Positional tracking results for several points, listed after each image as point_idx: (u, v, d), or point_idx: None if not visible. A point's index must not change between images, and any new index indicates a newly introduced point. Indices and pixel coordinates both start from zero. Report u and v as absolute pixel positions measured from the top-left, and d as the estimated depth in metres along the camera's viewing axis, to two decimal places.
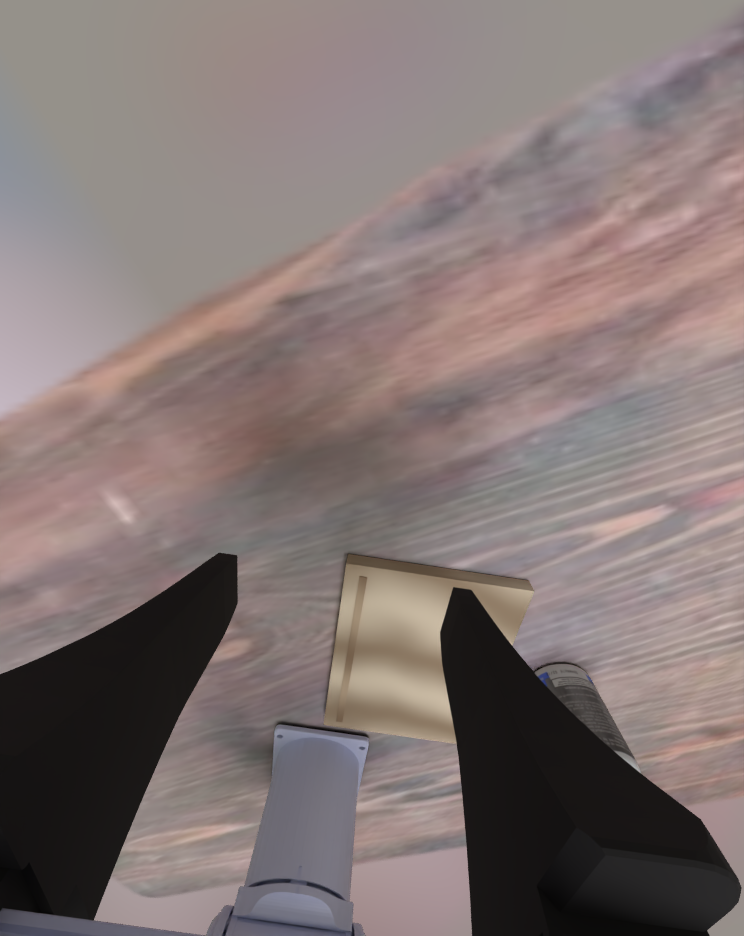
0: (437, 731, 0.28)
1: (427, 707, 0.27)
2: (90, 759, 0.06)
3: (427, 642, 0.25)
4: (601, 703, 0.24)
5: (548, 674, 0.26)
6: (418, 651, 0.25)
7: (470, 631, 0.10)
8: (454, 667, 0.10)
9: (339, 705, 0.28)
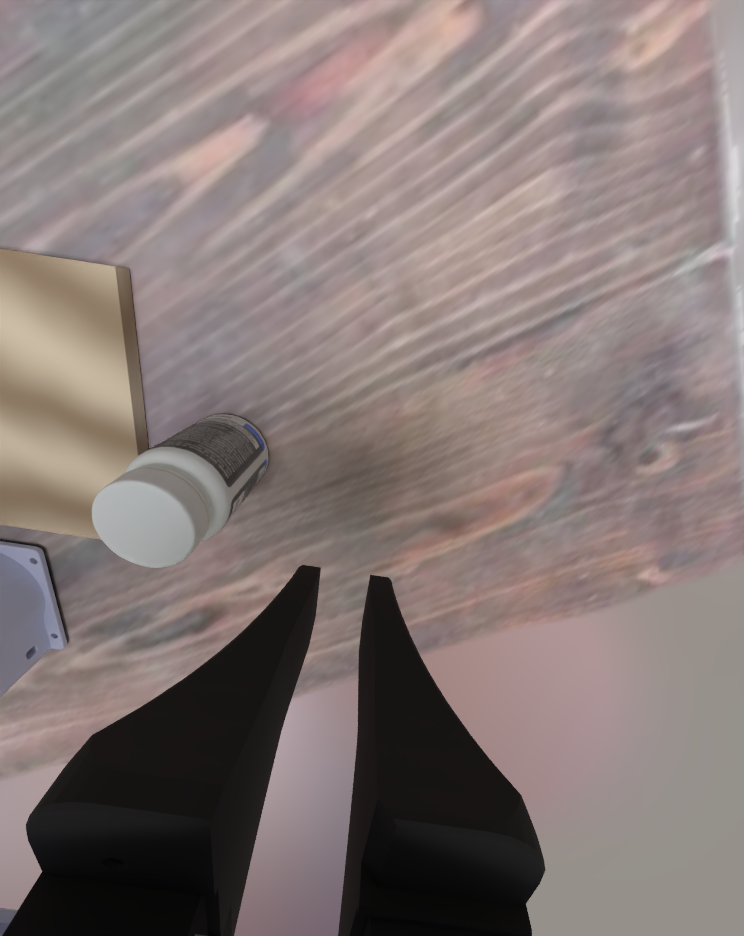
0: None
1: (70, 483, 0.22)
2: (247, 781, 0.06)
3: (22, 369, 0.19)
4: (231, 435, 0.18)
5: None
6: (18, 385, 0.19)
7: (370, 616, 0.10)
8: (362, 654, 0.10)
9: None
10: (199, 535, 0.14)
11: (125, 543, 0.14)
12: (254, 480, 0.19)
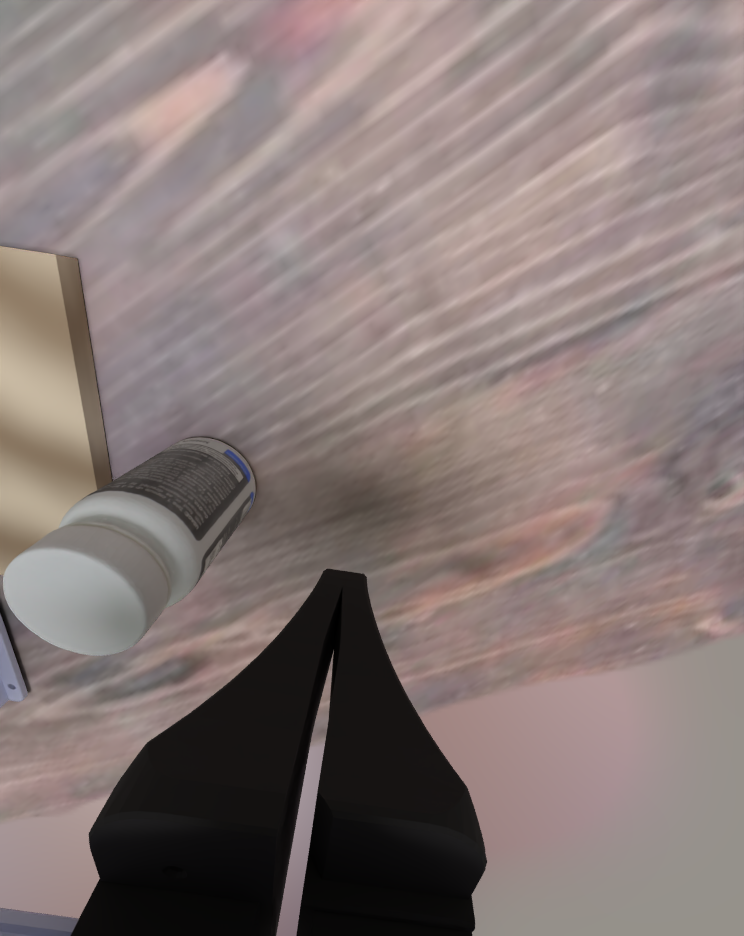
0: None
1: (17, 519, 0.18)
2: (294, 787, 0.06)
3: None
4: (206, 467, 0.14)
5: None
6: None
7: (341, 612, 0.10)
8: (335, 650, 0.10)
9: None
10: (154, 614, 0.11)
11: (52, 626, 0.10)
12: (236, 521, 0.16)
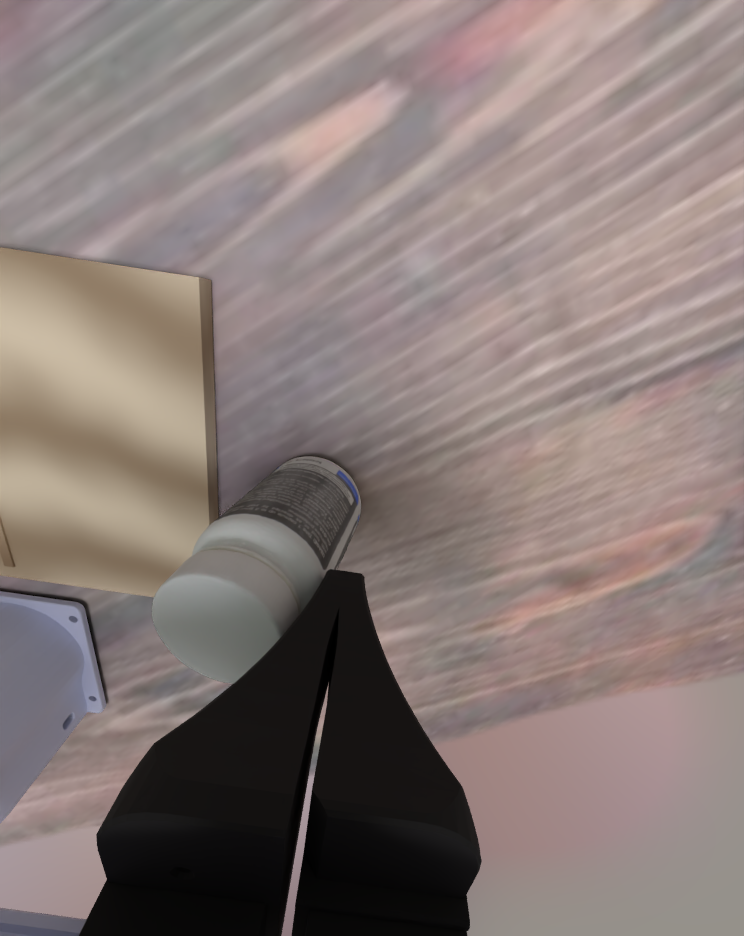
0: (155, 580, 0.19)
1: (124, 535, 0.18)
2: (300, 788, 0.06)
3: (73, 402, 0.15)
4: (324, 490, 0.14)
5: (280, 466, 0.16)
6: (67, 422, 0.16)
7: (338, 612, 0.10)
8: None
9: None
10: None
11: (191, 649, 0.10)
12: (347, 546, 0.15)
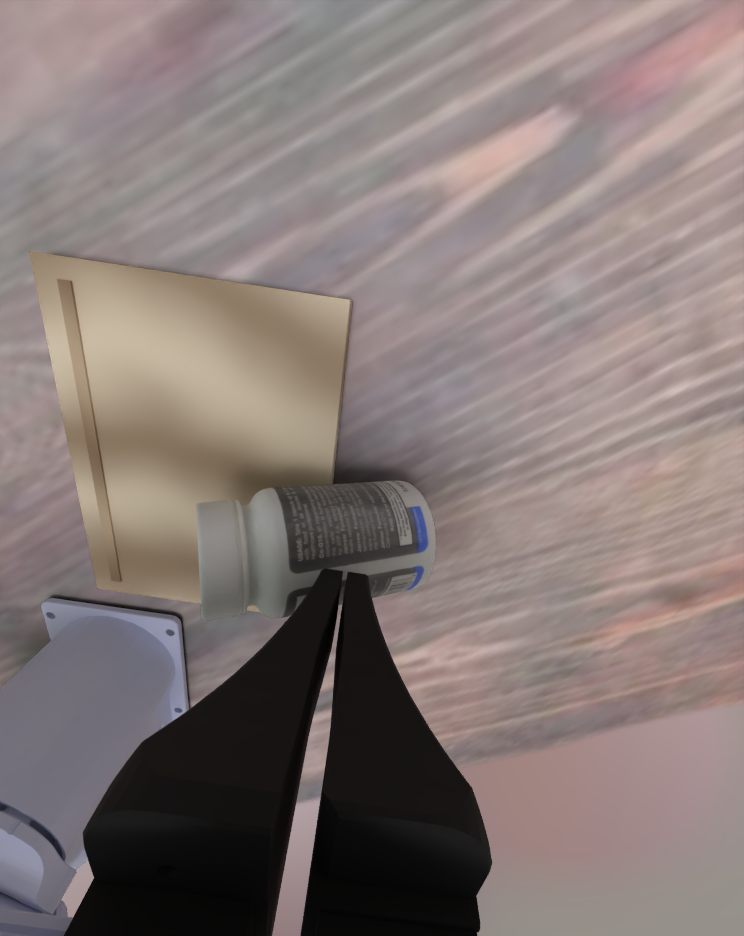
0: None
1: None
2: (290, 787, 0.06)
3: (204, 421, 0.16)
4: (369, 511, 0.13)
5: None
6: (195, 441, 0.16)
7: (343, 613, 0.10)
8: (337, 650, 0.10)
9: (106, 551, 0.18)
10: (215, 607, 0.11)
11: None
12: (375, 584, 0.13)
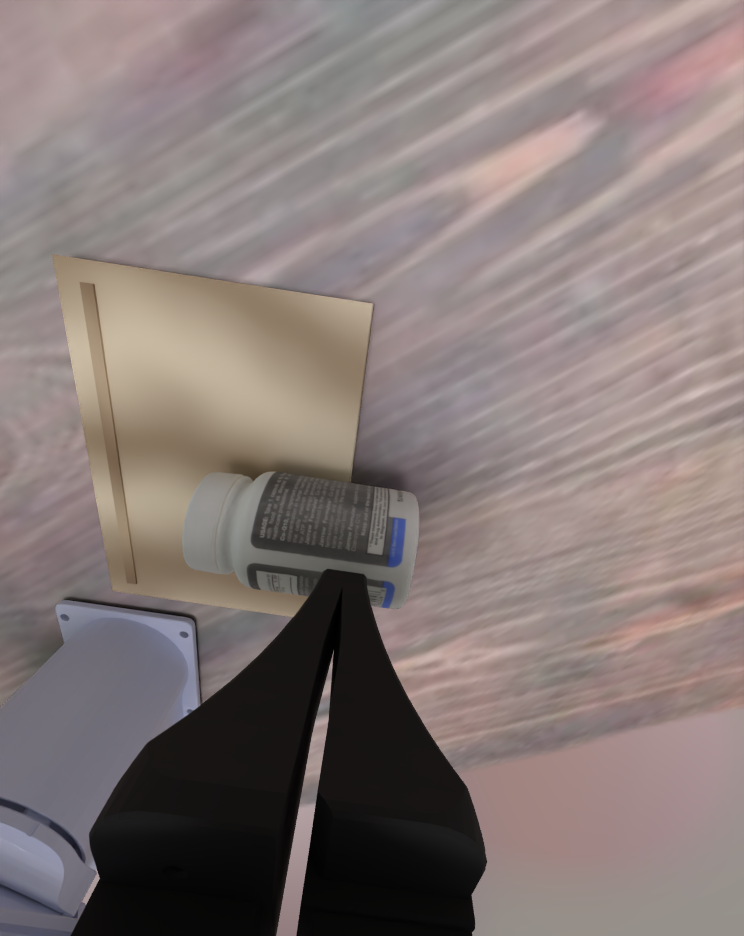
0: (277, 597, 0.19)
1: None
2: (294, 787, 0.06)
3: (224, 424, 0.16)
4: (346, 510, 0.13)
5: None
6: (214, 443, 0.16)
7: (341, 612, 0.10)
8: (335, 650, 0.10)
9: (122, 553, 0.18)
10: (193, 557, 0.13)
11: None
12: None
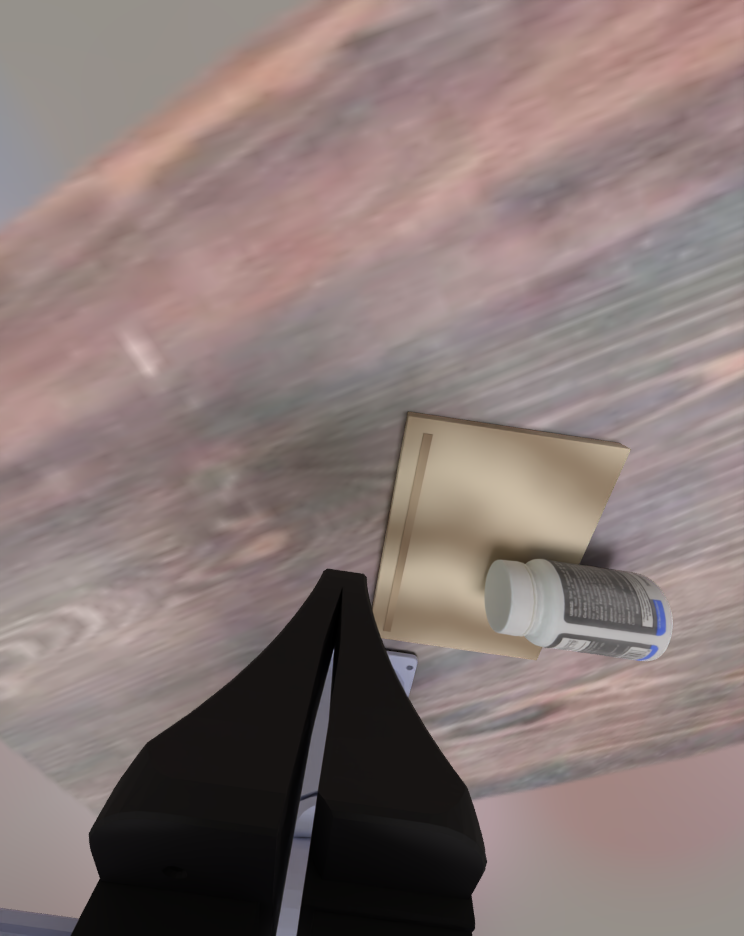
0: (499, 642, 0.25)
1: None
2: (294, 787, 0.06)
3: (497, 523, 0.21)
4: (620, 594, 0.19)
5: None
6: (485, 535, 0.22)
7: (341, 612, 0.10)
8: (335, 650, 0.10)
9: (388, 609, 0.24)
10: (513, 627, 0.19)
11: (488, 597, 0.21)
12: (617, 647, 0.18)
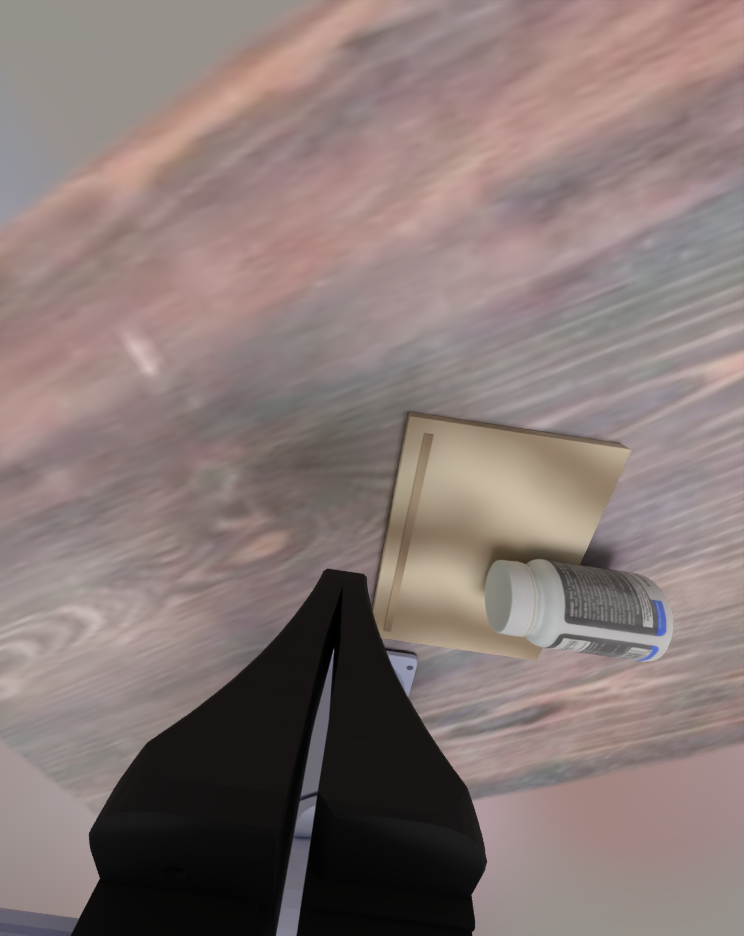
0: (499, 642, 0.25)
1: None
2: (294, 788, 0.06)
3: (497, 523, 0.21)
4: (621, 595, 0.19)
5: None
6: (486, 535, 0.22)
7: (341, 612, 0.10)
8: (335, 650, 0.10)
9: (388, 609, 0.24)
10: (513, 627, 0.19)
11: (489, 597, 0.21)
12: (617, 648, 0.18)
